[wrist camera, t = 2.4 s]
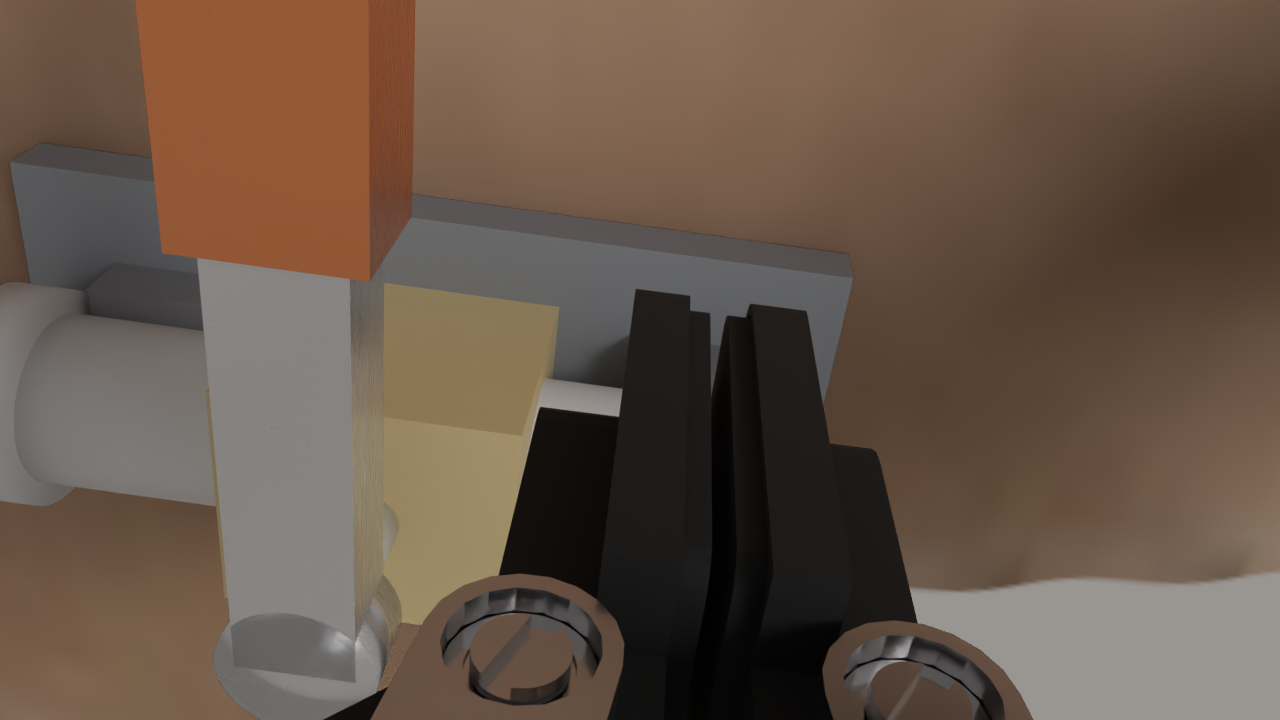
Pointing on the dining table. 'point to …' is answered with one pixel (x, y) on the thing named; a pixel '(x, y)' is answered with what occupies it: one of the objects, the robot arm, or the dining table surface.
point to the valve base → (459, 256)
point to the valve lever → (290, 314)
